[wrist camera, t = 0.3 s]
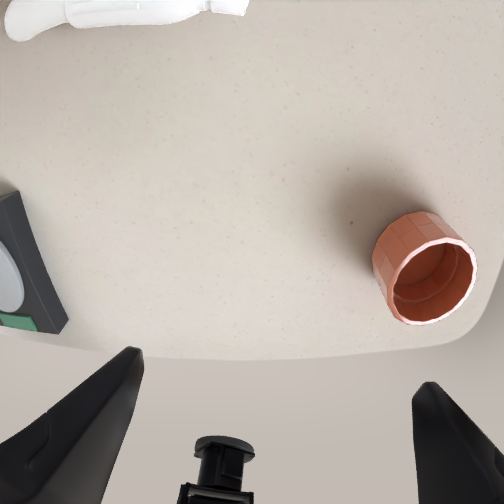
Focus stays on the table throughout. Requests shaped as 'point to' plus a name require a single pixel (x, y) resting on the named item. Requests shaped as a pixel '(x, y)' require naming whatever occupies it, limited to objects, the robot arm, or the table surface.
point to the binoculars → (106, 13)
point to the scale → (24, 275)
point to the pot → (423, 268)
